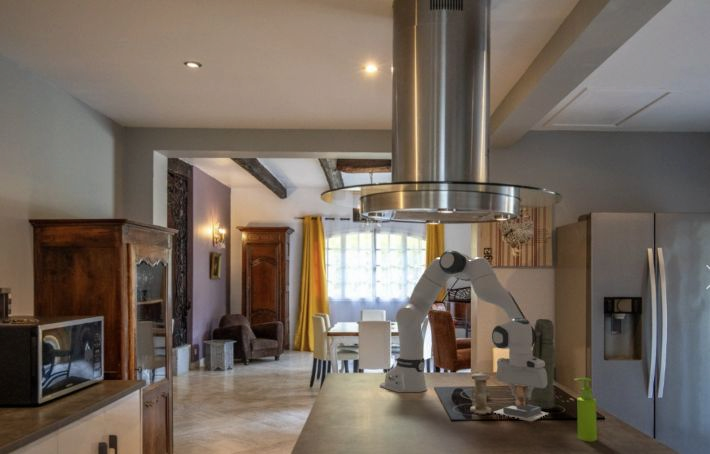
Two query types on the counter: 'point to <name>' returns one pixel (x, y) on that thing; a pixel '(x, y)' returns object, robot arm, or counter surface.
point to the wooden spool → (480, 394)
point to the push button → (483, 373)
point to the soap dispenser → (586, 413)
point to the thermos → (545, 352)
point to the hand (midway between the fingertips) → (521, 396)
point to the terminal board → (522, 412)
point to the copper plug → (520, 395)
